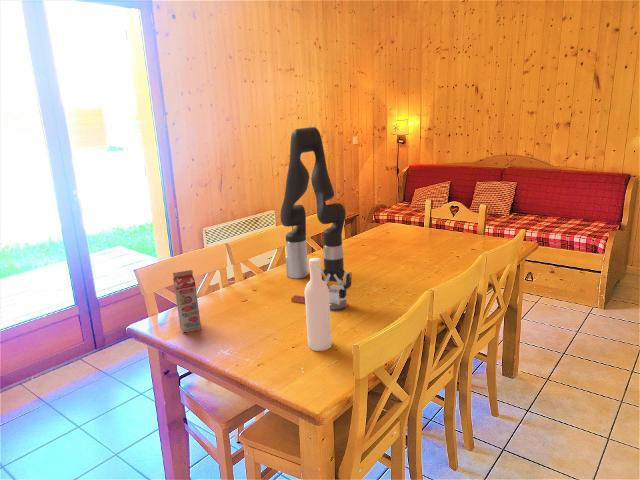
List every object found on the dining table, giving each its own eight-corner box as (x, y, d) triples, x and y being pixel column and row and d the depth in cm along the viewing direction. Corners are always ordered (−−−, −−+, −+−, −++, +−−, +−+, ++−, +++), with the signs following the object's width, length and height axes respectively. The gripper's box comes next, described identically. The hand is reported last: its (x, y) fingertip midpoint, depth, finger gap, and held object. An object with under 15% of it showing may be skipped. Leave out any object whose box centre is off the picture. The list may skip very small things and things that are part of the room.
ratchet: (288, 304, 196) (287, 290, 194) (298, 296, 203) (297, 283, 201) (341, 312, 186) (340, 297, 184) (349, 303, 193) (349, 289, 191)
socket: (326, 303, 189) (325, 289, 188) (332, 298, 194) (331, 284, 193) (339, 305, 187) (338, 290, 185) (345, 300, 192) (344, 285, 190)
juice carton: (180, 326, 181) (171, 270, 175) (198, 322, 184) (190, 267, 178) (182, 333, 175) (174, 275, 169) (201, 329, 178) (193, 272, 172)
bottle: (331, 339, 165) (327, 254, 157) (332, 350, 157) (328, 262, 149) (307, 340, 165) (302, 256, 157) (308, 352, 157) (302, 264, 149)
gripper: (312, 257, 185) (314, 297, 190) (347, 260, 179) (348, 302, 184) (320, 251, 192) (322, 291, 196) (354, 254, 186) (356, 295, 190)
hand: (335, 296), depth 190 cm, fingers open, 6 cm apart
